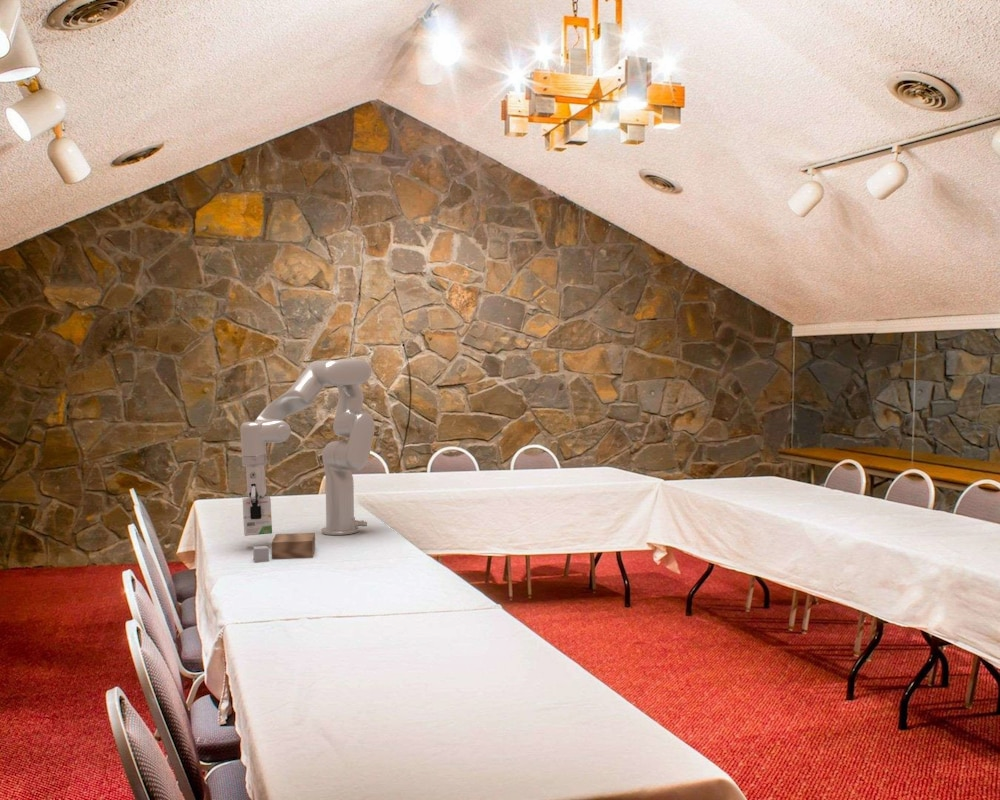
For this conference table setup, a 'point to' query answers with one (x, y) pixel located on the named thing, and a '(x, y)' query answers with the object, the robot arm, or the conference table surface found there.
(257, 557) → the slate cube
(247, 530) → the ink box
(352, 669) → the conference table surface
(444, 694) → the conference table surface
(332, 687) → the conference table surface
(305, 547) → the walnut base block
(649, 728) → the conference table surface
